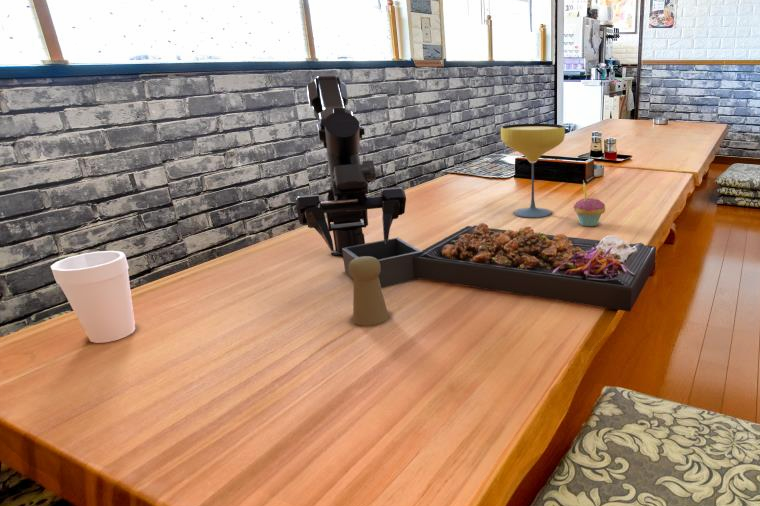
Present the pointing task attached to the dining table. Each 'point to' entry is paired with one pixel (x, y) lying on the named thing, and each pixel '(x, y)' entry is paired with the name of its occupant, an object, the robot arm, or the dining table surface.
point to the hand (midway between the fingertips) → (359, 246)
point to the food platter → (541, 265)
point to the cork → (367, 292)
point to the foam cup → (98, 293)
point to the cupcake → (589, 210)
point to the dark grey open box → (386, 259)
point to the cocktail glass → (532, 151)
